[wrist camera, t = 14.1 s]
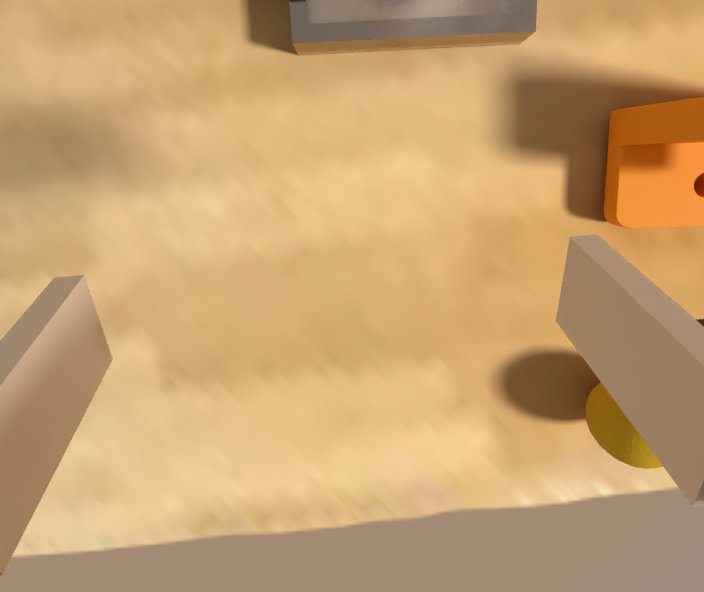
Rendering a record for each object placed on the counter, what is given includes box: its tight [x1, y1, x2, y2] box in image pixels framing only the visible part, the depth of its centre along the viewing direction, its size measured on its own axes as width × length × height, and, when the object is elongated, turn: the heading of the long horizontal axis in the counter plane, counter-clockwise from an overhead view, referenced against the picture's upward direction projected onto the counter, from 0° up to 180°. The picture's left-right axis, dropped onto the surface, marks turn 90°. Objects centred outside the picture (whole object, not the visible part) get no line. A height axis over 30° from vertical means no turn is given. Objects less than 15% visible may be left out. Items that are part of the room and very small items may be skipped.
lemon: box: [585, 382, 663, 469], centre depth 36 cm, size 6×6×8 cm
